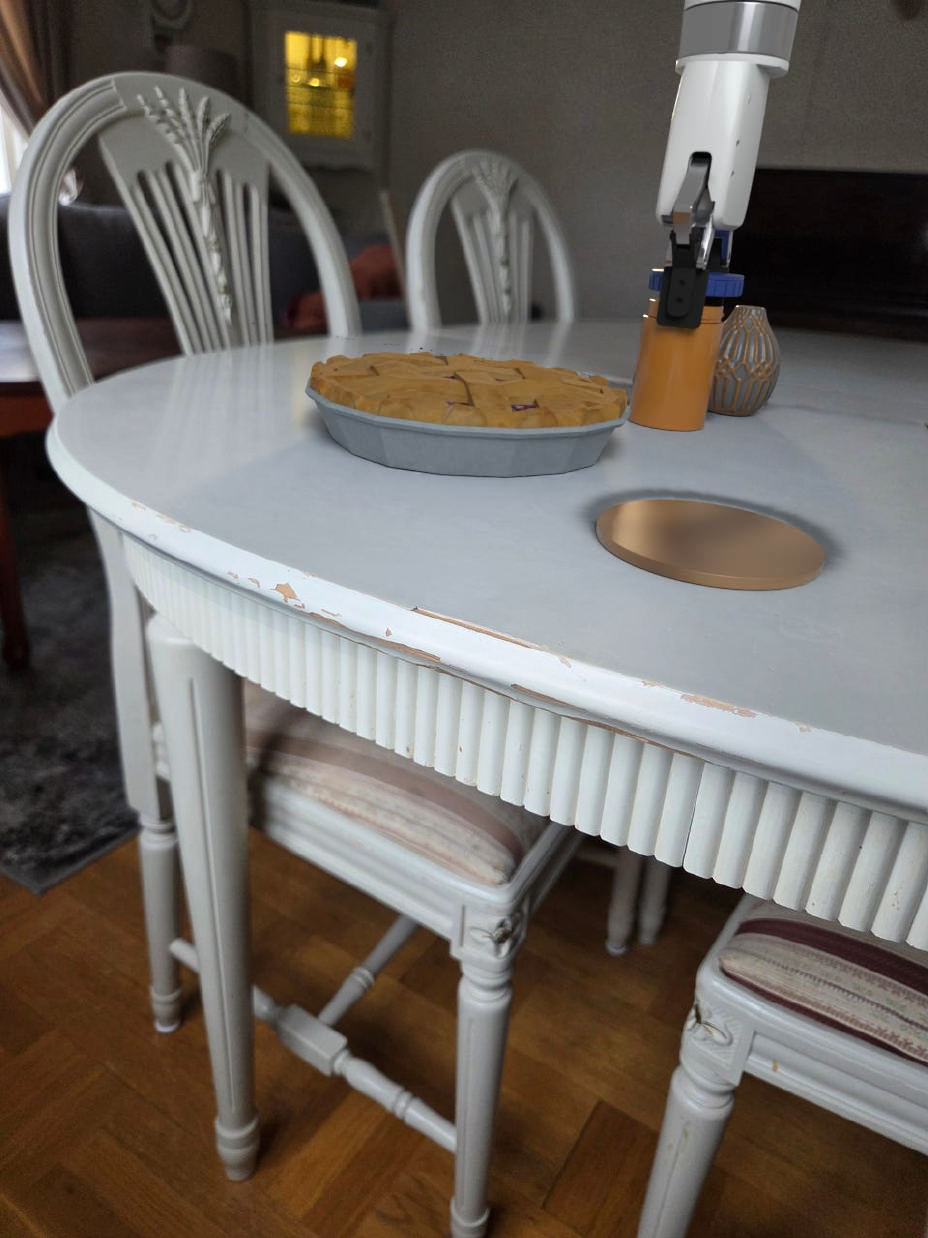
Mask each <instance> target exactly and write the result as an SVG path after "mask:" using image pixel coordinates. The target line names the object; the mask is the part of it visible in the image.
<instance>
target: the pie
mask: <svg viewBox="0 0 928 1238" xmlns="http://www.w3.org/2000/svg"><path fill="white" fill-rule="evenodd" d="M304 393H305V394H306V395H307V397H309V398H310V399H311V400H313V401H314V402H315V405H316V407H317V409H318V411H319V413H320V415H321V417H322V420H323V421H324V424H325V425H326V428H327V430H328V433H329V434H330V436H331V438H332V439H333V440H334V441H336V443H338V444H339V445H340V446H342V447H343V448H344V449H346V450H347V451H348V452H350V453H351V454H353V455H355V456H357V457H360V458H363V459H365V460H369V461H372V462H375V463H378V464H380V465H384V466H386V467H390V468H396V469H404V470H410V471H411V470H412V471H417V472H423V473H424V472H425V473H429V474H438V475H448V476H450V475H451V476H474V477H476V476H478V477H496V478H497V477H500V478H511V477H513V478H514V477H524V476H539V475H541V476H542V475H554V474H564V473H568V472H571V471H575V470H576V471H577V470H579V469H583V468H586V467H591V466H595V464H596V462H597V460H598V459H599V456H600V455H601V454H602V451H603V450H604V448H605V447H606V445H607V444H608V441H609V440H610V438H611V436H612V434H613V433H614V432H615V429H618V428H621V427H623V425H625V424H626V422H627V421H628V420H629V419H628V417H629V415H630V413H631V408H630V406H629V404H628V401H627V400H628V399H627V391H626V390H625V389H623V388H620V387H619V388H618V387H617V388H611V387H610V383H609V379H608V378H606V377H604V376H602V375H600V374H596V375H593V376H591V377H585V376H583V375H579V373H578V372H577V371H576V370H572V369H569V368H564V367H559V366H558V367H545V366H541V365H539V364H538V365H537V364H535V363H534V361H529V360H524V359H521V360H520V359H516V358H515V359H514V358H512V359H508V360H497V359H487V358H481V357H477V356H474V355H470V354H467V353H462V352H459V353H457V354H456V355H437V354H436V355H435V354H434V353H431V352H429V351H422V352H410V353H399V352H387V351H381V352H373V353H363V355H362V356H361V357H355V358H354V357H353V358H350V357H348V356H345V355H342V354H337V355H333V356H331V357H329V358H327V359H326V362H325V363H324V362H322V361H321V360H320V361H316V362H314V364H313V365H312V366H311V371H310V376H309V378H308V380H307V383H306V386H305V390H304Z"/></svg>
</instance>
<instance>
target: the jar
mask: <svg viewBox="0 0 928 1238" xmlns="http://www.w3.org/2000/svg"><path fill="white" fill-rule="evenodd" d="M659 298H660V297H652V298H650V299H648V301H647V302H648V309H647V313H645V314H643V315H642V321H641V328H640V335H639V341H638V347H637V353H636V354H637V355H636V358H635V359H636V360H635V366H634V372H633V378H632V385H631V391H630V397H629V403H628V406H630V408H631V413H630V415H629V417H628V419H627V420H629V421H630V422H632V423H634V424H637V425H640V426H643V427H648V428H652V429H658V430H663V431H665V430H666V431H675V432H692V431H699V430H702V429H704V427H705V423H706V418H707V414H708V411H709V410H708V405H709V400H710V395H711V390H712V385H713V380H714V375H715V370H716V365H717V359H718V354H719V349H720V344H721V339H722V334H723V329H724V324H725V323H724V322H725V321H722V319H723V318H725V313H724V308H725V307H724V304H723V305H720V304H715V303H709V302H705V303H704V309H703V315H702V320H701V325H700V326H699V327H698V328H696V329H688V328H679V327H669V326H660V325H658V324H657V322H656V319H657V312H658V305H659Z"/></svg>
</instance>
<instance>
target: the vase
mask: <svg viewBox="0 0 928 1238" xmlns="http://www.w3.org/2000/svg"><path fill="white" fill-rule="evenodd" d="M767 316H768V315H767V310H766V308H765V307H762V306H754V305H743V304H742V305H741V304H739V305H736V306H735V307H734V309H733V310H732V311H731V313H730V315H729V316H728V317H727V318H726V319H725V320H724V321H723V322H724V323H725V324H724V329H723V334H722V339H721V344H720V349H719V354H718V359H717V365H716V370H715V375H714V380H713V385H712V390H711V395H710V400H709V405H708V410H707V411H710V412H712V413H714V414H715V413H716V414H721V415H726V416H736V417H748V416H751V415H753V414H754V413H756V412H758V411H759V410H760V409H762V407H763V406H764V405H766V404H767V402H768V401H769V399H770V398H771V397H772V394H773V393H774V391H775V389H776V386H777V383H778V380H779V376H780V371H781V370H780V369H781V350H780V345H779V342H778V340H777V338H776V336H775V333H774V331H773V329H772V327H771V325H770V323H769V320H768V317H767Z"/></svg>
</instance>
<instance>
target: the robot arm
mask: <svg viewBox="0 0 928 1238" xmlns="http://www.w3.org/2000/svg"><path fill="white" fill-rule="evenodd" d="M801 4H802V0H684V6H683V13H682V19H681V20H682V21H681V27H680V32H679V33H680V34H679V40H678V47H677V54H676V64H675V69H674V71H675V73H677V74H678V75H680V76H681V78H680V82H679V86H678V90H677V94H676V97H675V102H674V107H673V112H672V116H671V117H672V118H671V121H670V122H671V123H670V127H669V133H668V138H667V143H666V149H665V153H664V160H663V165H662V171H661V178H660V183H659V188H658V194H657V200H656V205H655V211H654V212H655V213H654V214H655V219H656V221H657V222H658V224H659V225H660V226H661V227H665V228H672V230H670V233H669V243H668V246H667V249H666V255H665V259H664V266H663V269H664V271H663V278H662V285H661V292H660V293H659V297H658V298H659V305H658V312H657V319H656V322H657V324H658V325H660V326H669V327H679V328H688V329H696V328H698V327H699V326H700V325H701V320H702V315H703V309H704V303H705V302H709V303H715V304H720V305H723V306H724V301H725V297H715V296H706V291H707V285H708V279H709V274H710V272H719V273H729V272H730V267H729V265H730V262H731V256H732V246H733V235H734V231H735V230H737V229H738V228H740V227H741V226H742V225H743V223H744V221H745V219H746V214H747V211H748V206H749V201H750V197H751V192H752V187H753V182H754V177H755V172H756V166H757V160H758V156H759V148H760V143H761V138H762V137H761V136H762V130H763V126H764V125H763V124H764V119H765V115H766V105H767V99H768V94H769V88H770V80H773V79H774V80H775V79H778V78H782V77H785V76H786V75H787V74H788V72H789V67H790V62H791V57H792V56H791V55H792V50H793V46H794V39H795V34H796V30H797V23H798V19H799V12H800V8H801ZM729 274H730V273H729Z"/></svg>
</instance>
